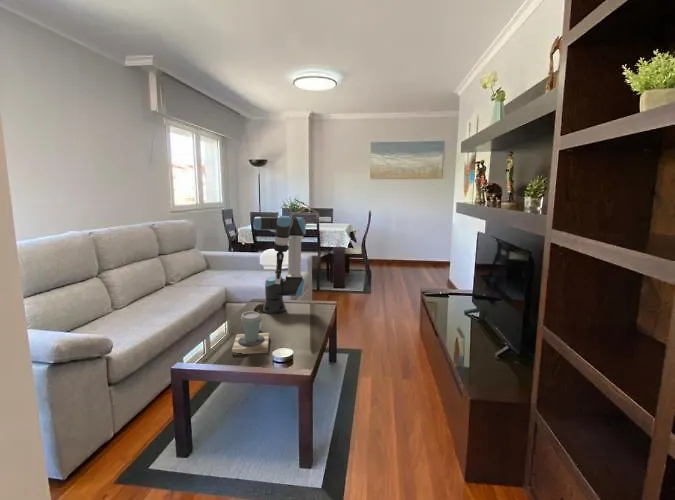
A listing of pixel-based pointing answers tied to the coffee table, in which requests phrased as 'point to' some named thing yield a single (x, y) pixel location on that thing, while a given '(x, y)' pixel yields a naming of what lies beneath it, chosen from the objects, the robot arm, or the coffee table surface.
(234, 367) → the coffee table surface
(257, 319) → the disposable coffee cup
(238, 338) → the birch riser
